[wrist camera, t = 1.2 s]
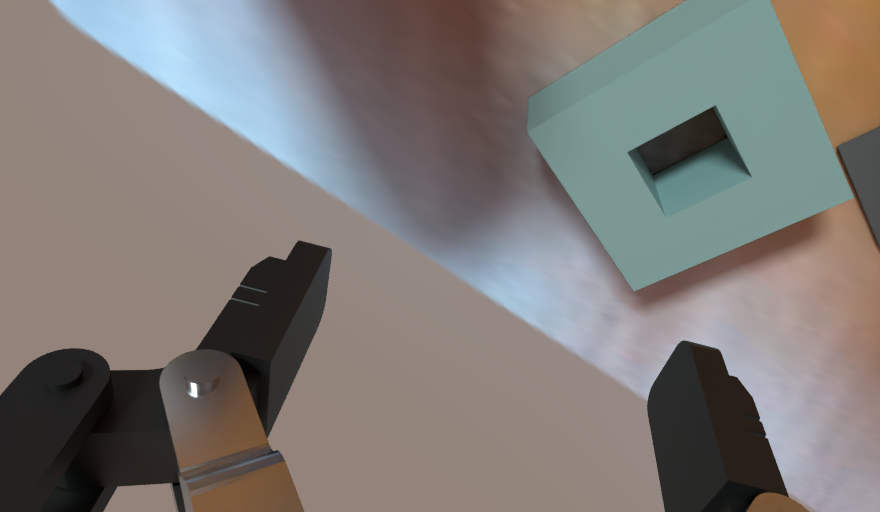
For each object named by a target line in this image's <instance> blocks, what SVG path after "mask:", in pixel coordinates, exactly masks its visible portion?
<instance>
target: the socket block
mask: <svg viewBox="0 0 880 512" xmlns="http://www.w3.org/2000/svg"><path fill="white" fill-rule="evenodd" d="M711 107H713V109H714V111H715V113H716V115H717V117H718V119H719V121H720V123H721V125H722V127H723V129H724V131H725V133H726V135H727V137H728V138H726V139H724V140H722V141H720V142H718V143H716V144H714V145H712V146H710V147H708V148H706V149H704V150H702V151H701V152H699V153H697V154H695V155H693V156H691V157H689V158H687V159H685V160H683V161H681V162H679V163H677V164H675V165H673V166H671V167H669V168H667V169H665V170H663V171H661V172H659V173H657V174H655V175H653V176H652V174H651V172H650V171H649V169H648V167H647V166H646V164H645V162H644V160H643V159H642V157H641V155H640V154H639V152H638V150H637V149H636V147H638V146H640V145H642V144H644V143H645V142H647V141H649V140H651V139H653V138H655V137H657V136H659V135H660V134H662V133H664V132H666V131H668V130H670V129H672V128H674V127H675V126H677V125H679V124H681V123H683V122H685V121H687V120H689V119H690V118H692V117H694V116H696V115H698V114H700V113H702V112H704V111H705V110H707V109H709V108H711ZM527 133H528V135H529V136H530V138H531V139H532V141H533V142H534V144H535V145H536V147H537V148H538V150H539V151H540V153H541V154H542V156H543V157H544V159H545V160H546V162H547V163H548V165H549V166H550V168H551V169H552V171H553V172H554V173H555V175H556V176H557V178H558V179H559V181H560V182H561V184H562V185H563V187H564V188H565V190H566V191H567V193H568V194H569V196H570V197H571V199H572V200H573V202H574V203H575V205H576V206H577V208H578V209H579V211H580V212H581V214H582V215H583V217H584V218H585V220H586V221H587V223H588V224H589V226H590V227H591V229H592V230H593V231H594V233H595V234H596V236H597V237H598V239H599V240H600V242H601V243H602V245H603V246H604V248H605V249H606V251H607V252H608V254H609V255H610V257H611V258H612V260H613V261H614V263H615V264H616V266H617V267H618V269H619V270H620V272H621V273H622V275H623V276H624V278H625V279H626V281H627V282H628V284H629V285H630V287H631V288H632V290H633V291H636V290H639V289H641V288H643V287H646V286H648V285H650V284H653V283H655V282H657V281H660V280H662V279H664V278H667V277H669V276H672V275H674V274H676V273H679V272H681V271H683V270H686V269H688V268H690V267H693V266H695V265H697V264H700V263H702V262H704V261H707V260H709V259H712V258H714V257H716V256H719V255H721V254H723V253H726V252H728V251H730V250H733V249H735V248H737V247H740V246H742V245H744V244H747V243H749V242H751V241H754V240H756V239H759V238H761V237H763V236H766V235H768V234H770V233H773V232H775V231H777V230H780V229H782V228H784V227H787V226H789V225H791V224H794V223H796V222H798V221H801V220H803V219H806V218H808V217H810V216H813V215H815V214H817V213H820V212H822V211H824V210H827V209H829V208H831V207H834V206H836V205H838V204H841V203H843V202H845V201H848V200H850V199H853V198H854V196H853V194H852V192H851V189H850V187H849V185H848V182H847V180H846V178H845V175H844V173H843V171H842V168H841V166H840V164H839V161H838V159H837V156H836V154H835V152H834V149H833V147H832V145H831V142H830V140H829V138H828V135H827V133H826V131H825V128H824V126H823V124H822V121H821V119H820V117H819V114H818V112H817V109H816V107H815V105H814V102H813V100H812V98H811V95H810V93H809V91H808V88H807V86H806V84H805V81H804V79H803V77H802V74H801V72H800V70H799V67H798V65H797V62H796V60H795V58H794V55H793V53H792V51H791V48H790V46H789V44H788V41H787V39H786V37H785V34H784V32H783V30H782V27H781V25H780V22H779V20H778V18H777V15H776V13H775V11H774V8H773V6H772V4H771V1H770V0H686V1H684V2H683V3H681V4H679V5H678V6H676V7H675V8H673V9H671V10H670V11H668V12H666V13H665V14H663V15H662V16H660V17H658V18H657V19H655V20H654V21H652V22H650V23H649V24H647V25H646V26H644V27H642V28H641V29H639V30H637V31H636V32H634V33H633V34H631V35H629V36H628V37H626V38H625V39H623V40H621V41H620V42H618V43H617V44H615V45H613V46H612V47H610V48H608V49H607V50H605V51H604V52H602V53H600V54H599V55H597V56H596V57H594V58H592V59H591V60H589V61H587V62H586V63H584V64H583V65H581V66H579V67H578V68H576V69H575V70H573V71H571V72H570V73H568V74H567V75H565V76H563V77H562V78H560V79H558V80H557V81H555V82H554V83H552V84H550V85H549V86H547V87H546V88H544V89H542V90H541V91H539V92H538V93H536V94H534V95H533V96H531V97H529V99H528V120H527Z"/></svg>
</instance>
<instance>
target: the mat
mask: <svg viewBox="0 0 880 512" xmlns="http://www.w3.org/2000/svg"><path fill="white" fill-rule="evenodd" d="M837 149H838V152H839V154H840V156H841V159H842V161H843V163H844V166H845V168H846V171H847V173H848V175H849V178H850V180H851V182H852V185H853V187H854V189H855V192H856V194H857V197H858V199H859V201H860V204H861V206H862V208H863V211H864V213H865V216H866V218H867V220H868V223H869V225H870V227H871V230H872V232H873V235H874V237H875V239H876V242H877V244H878V246H879V248H880V127H878V128H876V129H874V130H872V131H870V132H867V133H865V134H863V135H861V136H859V137H857V138H854V139H852V140H850V141H848V142H846V143H844V144H842V145H839V146H837Z"/></svg>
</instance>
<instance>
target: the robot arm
mask: <svg viewBox="0 0 880 512" xmlns="http://www.w3.org/2000/svg"><path fill="white" fill-rule="evenodd" d="M331 256H332V250H331V248H327V247H323V246H319V245H315V244H311V243H307V242H303V241H298V242H297V243H296V244H295V246H294V248H293V249H292V251H291V253H290V254H289V256H288V258H287V259H286V260H282V259H278V258H274V257H270V256H269V257H268V258H266V259H265V260H263V261H261V262H260V263H258V264H256V265H255V266H253V267H251V269H250V270H249V272H248V273H247V274H246V276H245V277H244V279H243V281H242V282H241V283H240V287H238V288H237V289H236V291H235V292H234V294H233V295H232V298H231V300H229V302H228V303H227V304H226V306H225V307H224V309H223V311H222V312H221V313H220V315H219V316H218V318H217V319H216V321H215V323H214V324H213V325H212V327H211V328H210V330H209V331H208V333H207V335H206V336H205V337H204V339H203V340H202V342H201V343H200V345H199V346H198V347H197V349H196V350H195V351H190V352H187V353H184V354H182V355H180V356H178V357H176V358H175V359H173V360H172V361H171V362H170V363H168V365H167V366H166V367H165V368H161V369H154V370H118V371H117V370H113V371H112V370H111V371H110V368H109V365H108V363H107V361H106V360H105V359H104V358H103V357H102V356H100V355H99V354H97V353H95V352H93V351H90V350H85V349H76V348H73V349H72V348H71V349H62V350H57V351H54V352H51V353H47V354H45V355H43V356H41V357H39V358H37V359H36V360H33V361H32V362H31V363H29V364H28V365H27V366H26V367H25V368H24V369H23V370H22V371H21V372H20V374H18V376H17V377H16V378H15V379H14V380H13V381H12V383H11V384H10V385H9V386H8V387H7V388H6V390H5V391H4V392H3V393H2V394H1V395H0V512H103V511H104V509H105V507H106V506H107V504H108V502H109V500H110V498H111V497H112V495H113V493H114V492H115V490H116V488H117V486H131V485H147V484H163V483H170V486H171V490H172V495H173V499H174V504H175V508H176V512H304V509H303V507H302V504H301V501H300V499H299V496H298V493H297V491H296V488H295V486H294V483H293V481H292V478H291V475H290V473H289V470H288V467H287V465H286V463H285V460H284V458H283V456H282V454H281V453H280V452H279V451H272V449H271V447H270V445H269V443H268V440H267V438H268V436H269V434H270V432H271V429H272V427H273V425H274V423H275V421H276V418H277V416H278V414H279V412H280V410H281V407H282V405H283V403H284V401H285V399H286V396H287V394H288V392H289V390H290V388H291V385H292V383H293V381H294V379H295V377H296V374H297V372H298V370H299V368H300V366H301V363H302V361H303V359H304V357H305V355H306V352H307V350H308V348H309V345H310V344H311V341H312V339H313V337H314V335H315V333H316V331H317V328H318V326H319V323H320V321H321V318H322V314H323V311H324V307H325V302H326V295H327V287H328V279H329V272H330V264H331ZM647 410H648V417H649V423H650V428H651V434H652V439H653V445H654V451H655V457H656V462H657V468H658V474H659V480H660V485H661V491H662V496H663V502H664V508H665V512H809V511H808V510H807V509H806V508H804V507H803V506H802V505H800V504H799V503H797V502H796V501H794V500H793V499H791V498H789V496H788V493H787V490H786V488H785V485H784V482H783V479H782V477H781V474H780V471H779V469H778V466H777V463H776V460H775V458H774V455H773V452H772V449H771V447H770V444H769V441H768V439H767V438H765V436H766V433H765V430H764V427H763V425H762V422H760V421H759V419H760V416H759V414H758V411H757V408H756V406H755V403H754V400H753V397H752V396H751V395H750V394H749V392H748V391H747V390H746V388H745V387H744V386H743V385H742V383H741V382H740V381H739V379H738V378H737V377H734V376H730V375H729V374H728V371H727V368H726V365H725V362H724V359H723V356H722V354H721V352H720V350H718V349H716V348H712V347H709V346H705V345H701V344H697V343H693V342H689V341H681V342H680V343H679V344H678V345H677V347H676V348H675V350H674V351H673V353H672V355H671V356H670V358H669V359H668V361H667V363H666V364H665V366H664V367H663V369H662V371H661V372H660V374H659V375H658V377H657V379H656V380H655V382H654V383H653V385H652V387H651V390H650V393H649V397H648V405H647Z"/></svg>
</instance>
